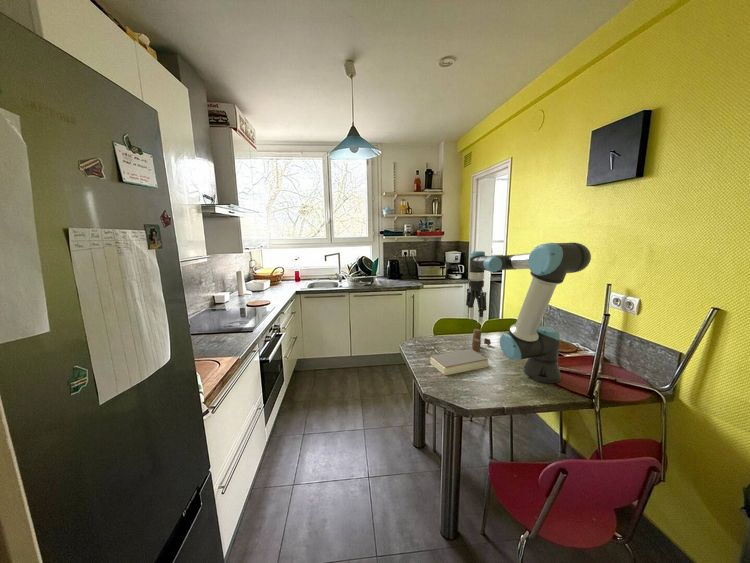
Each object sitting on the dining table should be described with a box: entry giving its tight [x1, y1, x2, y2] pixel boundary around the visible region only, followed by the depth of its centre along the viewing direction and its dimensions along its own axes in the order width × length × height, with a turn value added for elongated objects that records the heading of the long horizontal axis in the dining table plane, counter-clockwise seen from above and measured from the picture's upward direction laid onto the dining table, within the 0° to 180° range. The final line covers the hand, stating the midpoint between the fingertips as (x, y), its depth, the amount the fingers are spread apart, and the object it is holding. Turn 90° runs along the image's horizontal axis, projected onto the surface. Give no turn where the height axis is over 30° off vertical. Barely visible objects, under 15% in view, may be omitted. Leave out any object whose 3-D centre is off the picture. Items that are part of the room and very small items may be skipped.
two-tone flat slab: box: [429, 348, 489, 376], centre depth 147 cm, size 14×25×4 cm, turn 109°
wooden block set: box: [471, 328, 492, 353], centre depth 166 cm, size 18×9×10 cm, turn 143°
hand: (475, 320), depth 163 cm, fingers open, 7 cm apart
